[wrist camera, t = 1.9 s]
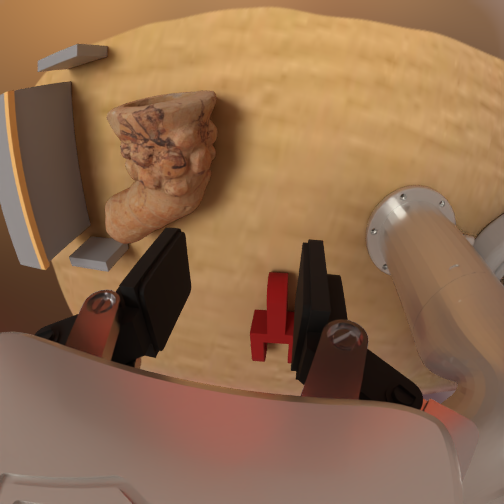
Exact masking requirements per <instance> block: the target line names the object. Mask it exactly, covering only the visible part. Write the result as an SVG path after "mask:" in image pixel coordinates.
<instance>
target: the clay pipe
mask: <svg viewBox="0 0 504 504" xmlns="http://www.w3.org/2000/svg"><path fill="white" fill-rule="evenodd" d="M216 99H217V98H216V94H215V92H214V91H197V92H183V93H173V94H166V95H159V96H154V97H149V98H144V99H140V100H136V101H133V102H129V103H126V104H123V105H121V106H118V107H116V108H113V109H112V110H111V111H109V112H108V114H107V120H108V122H109V124H110V126H111V127H112V129H113V131H114V132H115V134H116V135H117V136H118V138H119V139H120V140H121V146H120V147H121V154H122V156H123V157H124V158H126V159H127V160H126V163H125V166H126V169H127V171H128V173H129V175H130V176H131V178H132V179H133V180H136V181H135V182H134V183H133V184H132V185H131V187H130V188H128V189H126V190H124V191H122V192H119V193H117V194H115V195H113V196H112V197H111V198H110V199H109V200H108V201H107V202H106V205H105V214H106V219H105V224H106V231H107V233H108V234H109V235H110V236H111V237H112V238H113V239H114V240H116V241H118V242H120V243H123V244H129V243H133V242H137V241H139V240H141V239H142V238H144V237H146V236H147V235H149V234H150V233H151V232H153V231H154V230H158V229H160V228H163V227H164V226H165V225H167V224H169V223H171V222H173V221H175V220H177V219H179V218H182V217H184V216H186V215H188V214H190V213H192V212H193V211H194V210H195V209H196V208H197V207H198V206H199V204H200V202H201V200H202V198H203V195H204V191H205V188H206V186H207V184H208V182H209V180H210V177H211V171H210V170H209V168H210V165H211V162H212V160H213V159H214V158H215V155H216V150H215V148H214V147H213V145H212V144H213V143H214V142H215V140H216V139H217V127H216V126H215V125H214V124H213V123H212V121H211V120H210V116H211V113H212V110H213V108H214V106H215V103H216Z"/></svg>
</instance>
